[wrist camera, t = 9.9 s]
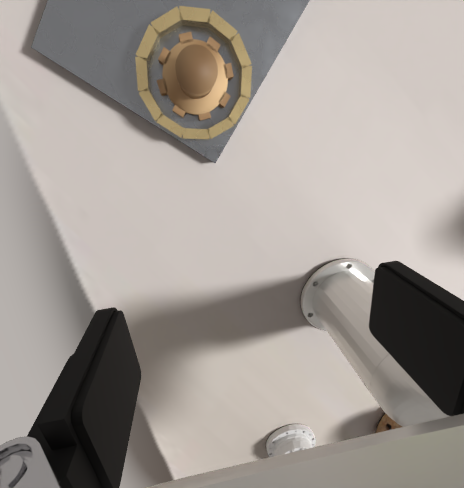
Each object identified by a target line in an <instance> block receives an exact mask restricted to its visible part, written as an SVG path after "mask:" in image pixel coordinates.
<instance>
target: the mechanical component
mask: <svg viewBox="0 0 464 488" xmlns="http://www.w3.org/2000/svg"><path fill="white" fill-rule="evenodd" d="M315 444H316V438H315V436H314V433H313V431H312V430H311V428H309V427H308V426H306V425H302V424H292V425H287V426H284V427H282V428H280V429H278V430H276V431H275V432H274V433H273V434H271V435H270V437H269V438H268V440H267V443H266V449H267V453H268V455H269V458H270V457H274V456H278V455H283V454H287V453H291V452H296V451H300V450H304V449H309V448H313V447H315Z"/></svg>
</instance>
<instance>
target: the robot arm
mask: <svg viewBox="0 0 464 488" xmlns="http://www.w3.org/2000/svg"><path fill="white" fill-rule="evenodd" d="M301 308H302V312H303V314H304V316H305V317H306V319H307V320H308V321H309V323H310V324H312V325H313V326H314V327H316V328H318V329H320V330H325V331H327V332H328V333H329V334H330V336H331V337H332V339H333V340H334V342H335V343H336V344H337V346H338V347H339V349H340V350H341V352H342V353H343V355H344V356H345V357H346V359H347V360H348V362H349V363H350V365H351V366H352V367H353V369H354V370H355V372H356V373H357V375H358V376H359V377H360V379H361V380H362V382H363V383H364V385H365V386H366V387H367V389H368V390H369V392H370V393H371V394H372V396H373V397H374V399H375V400H376V401H377V403H378V404H379V406H380V407H381V408H382V410H383V411H384V412H385V413H386V414H387V415H388V416H389V417H390V418H391V419H392V420H394V421H395V422H396V423H398V424H399V425H401V426H402V427H401V428H396V429H392V430H388V431H383V432H379V433H374V434H370V435H366V436H361V437H357V438H352V439H348V440H344V441H339V442H335V443H331V444H326V445H322V446H317V447H313V448H309V449H304V450H300V451H296V452H291V453H287V454H283V455H278V456H274V457H270V458H266V459H261V460H257V461H253V462H249V463H244V464H240V465H236V466H232V467H227V468H223V469H219V470H214V471H210V472H206V473H202V474H197V475H193V476H189V477H185V478H181V479H177V480H173V481H169V482H165V483H161V484H157V485H153V486H150V487H146V488H464V301H463V300H461V299H460V298H458V297H456V296H455V295H453V294H451V293H450V292H448V291H447V290H445V289H443V288H442V287H440V286H438V285H437V284H435V283H433V282H432V281H430V280H428V279H427V278H425V277H424V276H422V275H420V274H419V273H417V272H415V271H414V270H412V269H410V268H409V267H407V266H405V265H404V264H402V263H401V262H398V261H392V262H386V263H381V264H380V265H379V267H378V268H376V270H375V271H374V270H373V269H372V268H371V267H369V266H368V265H367V264H365V263H364V262H362V261H359V260H356V259H340V260H336V261H333V262H330V263H328V264H326V265H324V266H323V267H321V268H320V269H318V270H317V271H316V272H315V273H314V274H313V275H312V276H311V277H310V278H309V280H308V281H307V283H306V284H305V286H304V288H303V291H302V294H301ZM140 380H141V370H140V366H139V363H138V359H137V356H136V353H135V350H134V346H133V343H132V340H131V337H130V333H129V330H128V327H127V324H126V320H125V317H124V314H123V312H122V311H117V309H116V308H108V309H102V310H97V311H96V313H95V314H94V316H93V318H92V320H91V322H90V324H89V326H88V328H87V330H86V332H85V334H84V336H83V337H82V340H81V341H80V343H79V345H78V347H77V349H76V351H75V353H74V354H73V355H72V356H70V358H69V359H68V361H67V363H66V365H65V366H64V368H63V370H62V372H61V374H60V376H59V377H58V380H57V381H56V383H55V385H54V387H53V389H52V391H51V393H50V394H49V396H48V398H47V400H46V402H45V404H44V406H43V407H42V409H41V411H40V413H39V415H38V417H37V419H36V421H35V422H34V424H33V426H32V428H31V430H30V432H29V434H28V436H27V437H20V438H16V439H13V440H11V441H8V442H6V443H4V444H3V445H1V446H0V488H119V486H120V482H121V477H122V471H123V467H124V462H125V456H126V451H127V446H128V441H129V436H130V431H131V426H132V421H133V416H134V410H135V406H136V401H137V395H138V390H139V385H140Z"/></svg>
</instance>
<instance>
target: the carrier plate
mask: <svg viewBox="0 0 464 488" xmlns="http://www.w3.org/2000/svg"><path fill="white" fill-rule="evenodd" d="M308 2H309V0H48V1H47V4H46V7H45V9H44V12H43V15H42V18H41V21H40V24H39V26H38V29H37V32H36V35H35V38H34V41H33V44H32V46H31V48H33V49H35V50H36V51H38V52H39V53H41V54H43V55H44V56H46V57H47V58H49V59H50V60H52V61H54V62H55V63H57V64H58V65H60V66H62V67H63V68H65V69H66V70H68V71H70V72H71V73H73V74H74V75H76V76H77V77H79V78H81V79H82V80H84V81H85V82H87V83H89V84H90V85H92V86H93V87H95V88H96V89H98V90H100V91H101V92H103V93H104V94H106V95H108V96H109V97H111V98H112V99H114V100H115V101H117V102H119V103H120V104H122V105H123V106H125V107H127V108H128V109H130V110H131V111H133V112H135V113H136V114H138V115H139V116H141V117H142V118H144V119H146V120H147V121H149V122H150V123H152V124H154V125H155V126H157V127H158V128H160V129H161V130H163V131H165V132H166V133H168V134H169V135H171V136H173V137H174V138H176V139H177V140H179V141H180V142H182V143H184V144H185V145H187V146H188V147H190V148H192V149H193V150H195V151H196V152H198V153H200V154H201V155H203V156H204V157H206V158H207V159H209V160H211V161H212V162H214V163H216V161H217V159H218V158H219V156H220V154H221V153H222V151H223V149H224V147H225V146H226V144H227V142H228V140H229V139H230V137H231V135H232V134H233V132H234V130H235V128H236V127H237V125H238V123H239V121H240V120H241V118H242V116H243V115H244V113H245V111H246V109H247V108H248V106H249V104H250V102H251V101H252V99H253V97H254V95H255V94H256V92H257V90H258V89H259V87H260V85H261V83H262V82H263V80H264V78H265V76H266V75H267V73H268V71H269V70H270V68H271V66H272V64H273V63H274V61H275V59H276V57H277V56H278V54H279V52H280V51H281V49H282V47H283V45H284V44H285V42H286V40H287V38H288V37H289V35H290V33H291V32H292V30H293V28H294V26H295V25H296V23H297V21H298V19H299V18H300V16H301V14H302V12H303V11H304V9H305V7H306V6H307V4H308ZM187 32H191V33H192V37H193V39H196V40H201V41H204V42H206V43H207V41H208V39H209V37H211V38H213V39H214V40H215V41H216V42H218V43H219V44H220V48H219V50H218V52H219V54H220V55H221V57H222V58H223V60H224V63H225V64H228V63H231V65H232V70H233V75H234V77H233V78H232V79H231V80H228V85H227V90H226V93H227V94H229V95H230V96H231V97H230V98H229V100H228V102H227V104H226V106H225V107H224V108H222V107H221V106H219V105H218V106H217V107H216V108H215V109H213V110H212V111H210V115H211V118H210V119H206V120H202V121H199V117H198V115H192V114H188V113H185V115H184V117H183V118H182V117H181V116H179V115H178V114H176V113H175V112H173V111H172V110H173V108H174V106H175V105H174V103H173V102H172V101H171V99H170V98H169V96H168V94H167V95H163V96H162V95H161V94H160V90H159V87H158V83H157V80H160V79H163V76H162V73H163V65H162V64H160V63H159V61H158V58H159V56H160V54H161V52H162V50H163V47H165V48H166V49H168V50H169V51H170V50H171V49H172V48H173V47H174V46H175V45H177V44H178V43H180V41H179V34H182V33H187Z"/></svg>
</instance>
